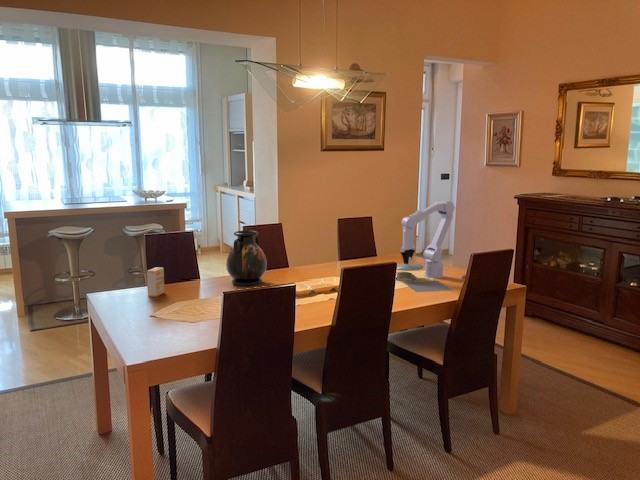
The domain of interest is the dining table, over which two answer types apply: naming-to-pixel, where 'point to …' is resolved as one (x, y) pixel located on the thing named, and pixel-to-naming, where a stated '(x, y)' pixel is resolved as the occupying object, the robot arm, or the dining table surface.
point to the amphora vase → (246, 260)
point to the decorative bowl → (406, 276)
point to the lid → (409, 266)
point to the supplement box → (155, 281)
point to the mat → (427, 286)
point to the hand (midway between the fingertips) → (407, 263)
